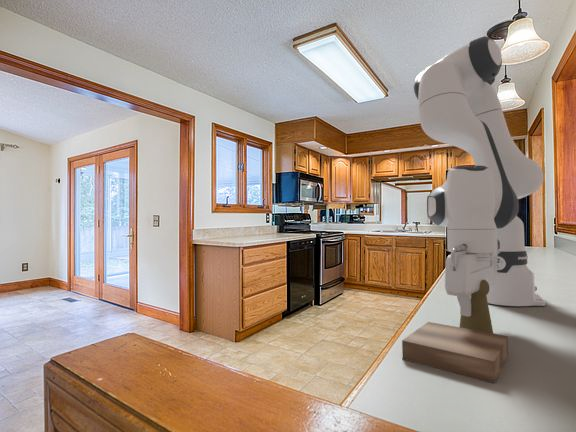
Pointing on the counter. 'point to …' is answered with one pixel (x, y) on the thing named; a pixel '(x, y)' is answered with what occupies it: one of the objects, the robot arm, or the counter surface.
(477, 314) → the olive pawn
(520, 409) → the counter surface
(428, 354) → the walnut base
